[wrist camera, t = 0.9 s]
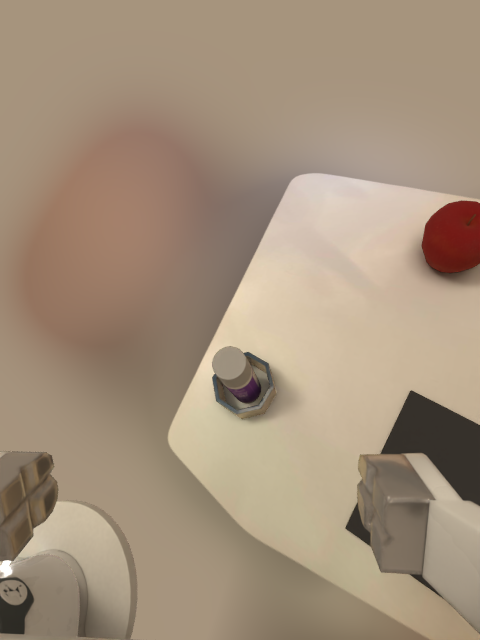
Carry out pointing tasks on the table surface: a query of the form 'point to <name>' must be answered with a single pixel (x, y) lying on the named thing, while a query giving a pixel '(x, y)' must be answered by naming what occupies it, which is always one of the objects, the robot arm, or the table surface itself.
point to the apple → (453, 237)
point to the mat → (434, 451)
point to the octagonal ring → (252, 410)
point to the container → (236, 374)
